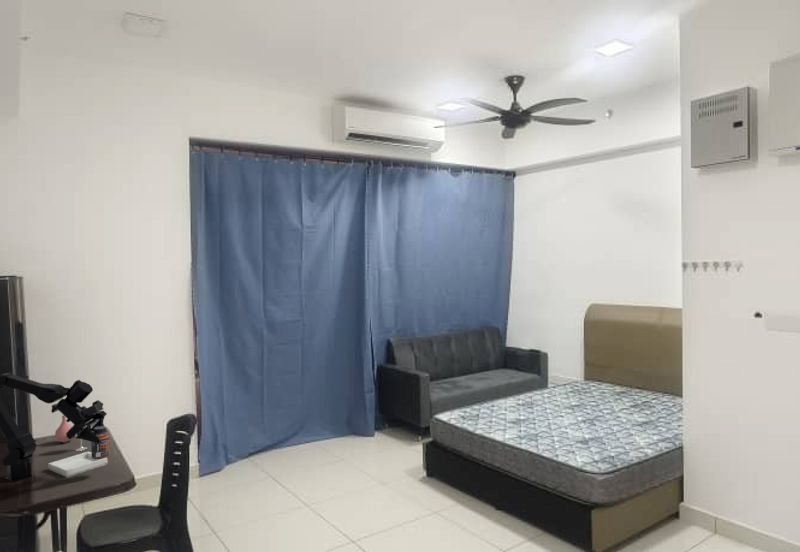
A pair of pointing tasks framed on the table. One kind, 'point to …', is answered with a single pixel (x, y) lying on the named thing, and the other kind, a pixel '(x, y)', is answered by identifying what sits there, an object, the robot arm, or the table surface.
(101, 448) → the supplement bottle
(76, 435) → the wineglass
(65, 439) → the pink vase
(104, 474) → the table surface
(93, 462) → the tray
